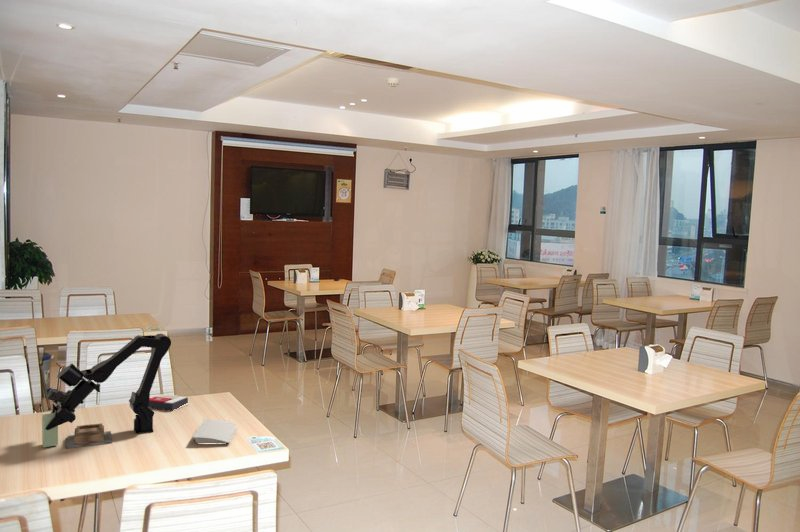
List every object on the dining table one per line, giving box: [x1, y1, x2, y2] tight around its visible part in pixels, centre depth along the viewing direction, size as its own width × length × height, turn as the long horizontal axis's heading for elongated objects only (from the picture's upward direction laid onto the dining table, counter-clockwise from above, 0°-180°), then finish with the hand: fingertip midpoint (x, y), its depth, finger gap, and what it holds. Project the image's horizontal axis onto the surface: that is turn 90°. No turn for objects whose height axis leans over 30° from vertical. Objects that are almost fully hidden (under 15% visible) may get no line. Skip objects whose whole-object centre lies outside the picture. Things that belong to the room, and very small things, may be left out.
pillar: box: [41, 412, 59, 448], centre depth 225 cm, size 5×5×11 cm
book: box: [191, 418, 237, 444], centre depth 241 cm, size 15×23×4 cm, turn 6°
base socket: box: [65, 422, 113, 449], centre depth 231 cm, size 15×12×5 cm
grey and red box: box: [149, 393, 189, 412], centre depth 276 cm, size 11×4×15 cm
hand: (45, 427), depth 224 cm, fingers closed on pillar, 5 cm apart
